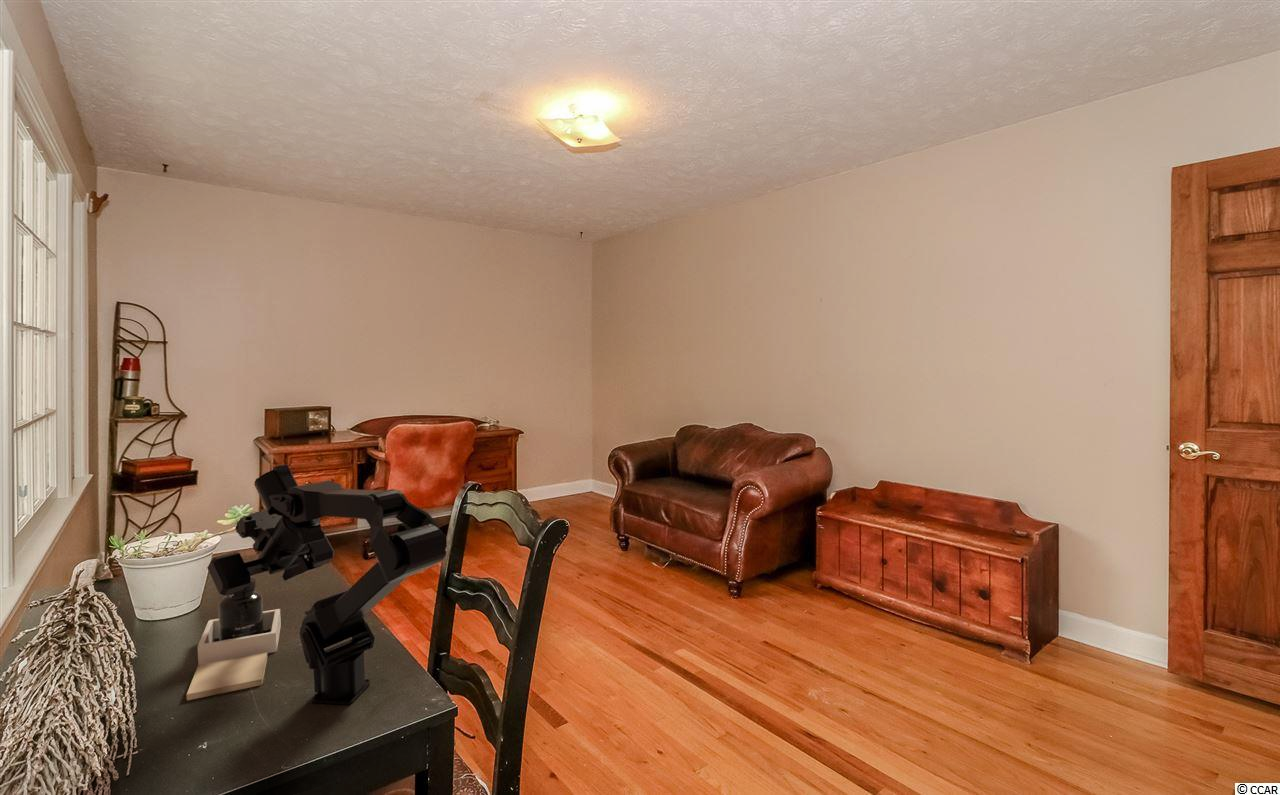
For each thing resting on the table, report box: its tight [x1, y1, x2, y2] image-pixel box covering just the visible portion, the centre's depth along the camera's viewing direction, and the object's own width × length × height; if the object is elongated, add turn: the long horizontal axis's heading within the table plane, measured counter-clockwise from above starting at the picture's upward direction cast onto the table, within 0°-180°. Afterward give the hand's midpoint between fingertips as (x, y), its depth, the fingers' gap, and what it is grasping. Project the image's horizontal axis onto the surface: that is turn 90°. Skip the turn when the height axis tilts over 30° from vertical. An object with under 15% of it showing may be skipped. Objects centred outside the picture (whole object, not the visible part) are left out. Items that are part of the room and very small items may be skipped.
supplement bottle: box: [218, 577, 264, 641], centre depth 113 cm, size 7×7×12 cm
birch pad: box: [186, 652, 268, 701], centre depth 102 cm, size 10×10×1 cm
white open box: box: [197, 608, 282, 666], centre depth 114 cm, size 12×12×4 cm
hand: (258, 586), depth 109 cm, fingers open, 9 cm apart
